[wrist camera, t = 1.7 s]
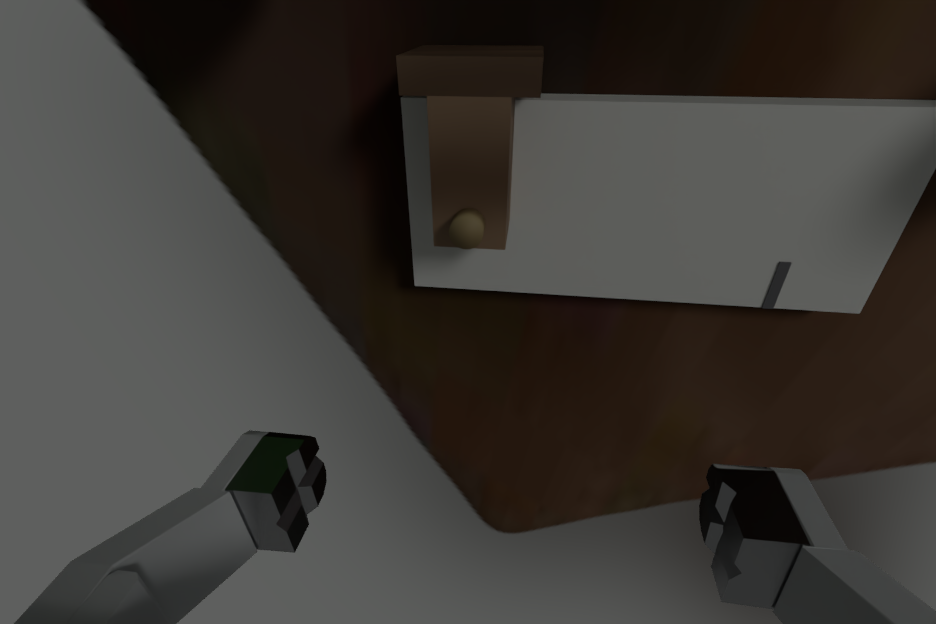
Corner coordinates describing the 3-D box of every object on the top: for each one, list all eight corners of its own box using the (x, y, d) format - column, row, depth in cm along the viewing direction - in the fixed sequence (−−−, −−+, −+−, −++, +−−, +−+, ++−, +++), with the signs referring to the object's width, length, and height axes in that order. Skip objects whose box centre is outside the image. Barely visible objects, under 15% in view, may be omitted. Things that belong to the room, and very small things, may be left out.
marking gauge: (423, 45, 24) (388, 58, 19) (543, 45, 24) (543, 60, 18) (431, 206, 29) (404, 255, 23) (531, 210, 28) (528, 262, 23)
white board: (409, 91, 26) (400, 98, 24) (936, 100, 23) (969, 108, 22) (421, 271, 32) (414, 286, 30) (841, 295, 29) (860, 314, 28)
